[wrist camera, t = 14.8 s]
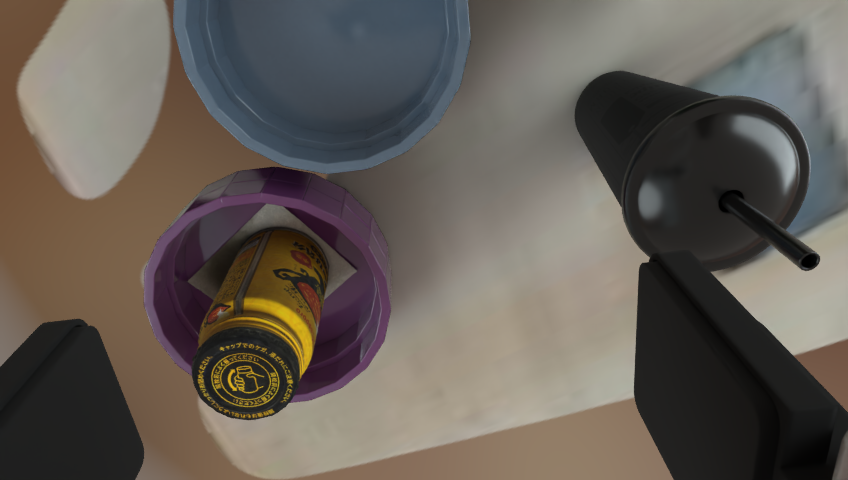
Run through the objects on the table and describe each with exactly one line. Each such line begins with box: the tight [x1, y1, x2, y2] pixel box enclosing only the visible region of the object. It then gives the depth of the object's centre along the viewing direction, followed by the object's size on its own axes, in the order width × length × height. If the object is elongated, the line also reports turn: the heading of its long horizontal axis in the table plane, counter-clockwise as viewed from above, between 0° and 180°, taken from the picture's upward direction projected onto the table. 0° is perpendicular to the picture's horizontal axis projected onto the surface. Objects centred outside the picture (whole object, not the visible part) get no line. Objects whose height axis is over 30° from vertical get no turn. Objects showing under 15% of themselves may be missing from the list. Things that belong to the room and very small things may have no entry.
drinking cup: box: [575, 71, 820, 272], centre depth 29 cm, size 8×8×20 cm
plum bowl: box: [144, 167, 392, 403], centre depth 39 cm, size 14×14×5 cm
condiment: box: [187, 204, 357, 420], centre depth 36 cm, size 7×8×12 cm
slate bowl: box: [173, 0, 471, 174], centre depth 33 cm, size 14×14×5 cm
